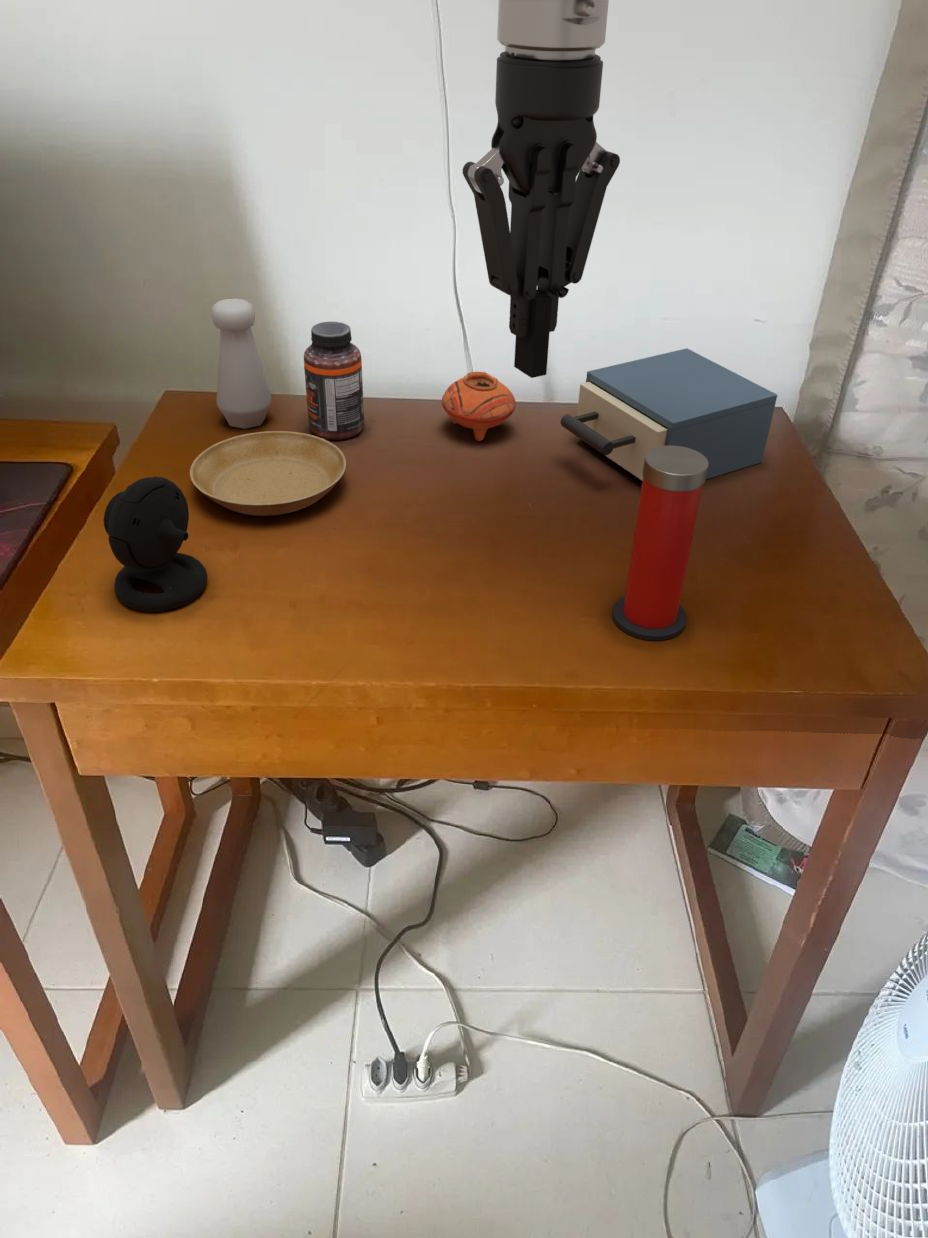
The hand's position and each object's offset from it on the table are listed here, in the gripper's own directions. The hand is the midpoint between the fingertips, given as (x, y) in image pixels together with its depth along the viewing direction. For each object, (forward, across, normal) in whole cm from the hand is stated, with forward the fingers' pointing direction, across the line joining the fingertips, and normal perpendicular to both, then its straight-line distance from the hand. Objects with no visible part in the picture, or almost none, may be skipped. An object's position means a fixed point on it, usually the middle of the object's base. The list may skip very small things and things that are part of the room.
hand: (530, 370), depth 83 cm
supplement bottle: (+15, -7, +25) cm, 30 cm away
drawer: (+14, +18, +5) cm, 23 cm away
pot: (+15, +6, +18) cm, 24 cm away
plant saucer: (+15, -18, +17) cm, 29 cm away
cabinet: (+15, +22, +5) cm, 27 cm away
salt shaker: (+15, -15, +32) cm, 38 cm away
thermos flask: (+15, +1, -18) cm, 23 cm away
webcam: (+15, -32, +5) cm, 36 cm away
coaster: (+15, +1, -18) cm, 23 cm away
